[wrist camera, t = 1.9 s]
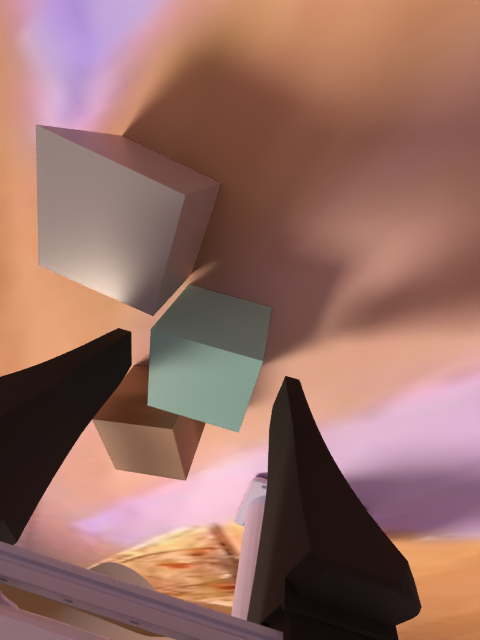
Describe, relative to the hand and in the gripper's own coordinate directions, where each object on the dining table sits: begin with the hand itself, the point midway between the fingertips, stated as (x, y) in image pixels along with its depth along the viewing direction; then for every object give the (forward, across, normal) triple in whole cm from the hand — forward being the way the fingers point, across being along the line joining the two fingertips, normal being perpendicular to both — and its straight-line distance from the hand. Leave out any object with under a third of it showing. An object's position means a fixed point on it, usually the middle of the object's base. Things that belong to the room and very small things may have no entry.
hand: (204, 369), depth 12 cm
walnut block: (+3, +2, +6) cm, 8 cm away
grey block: (+4, +4, -5) cm, 8 cm away
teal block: (+4, 0, 0) cm, 4 cm away
